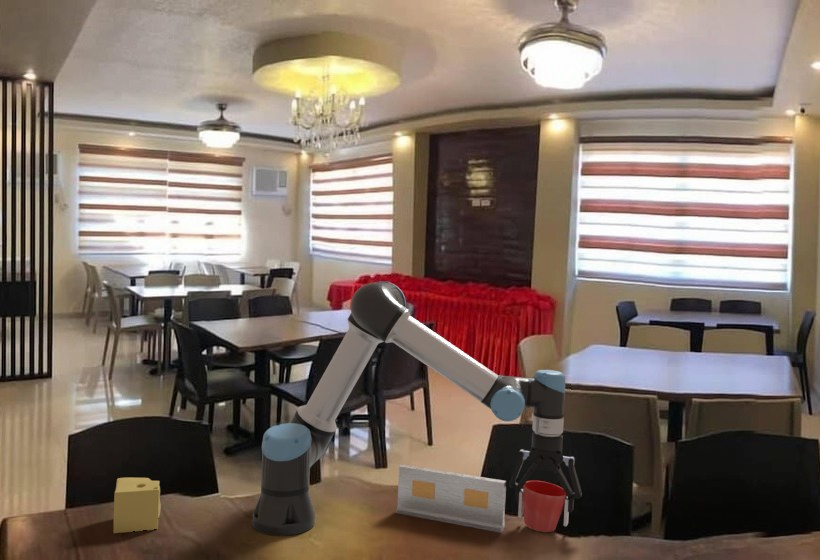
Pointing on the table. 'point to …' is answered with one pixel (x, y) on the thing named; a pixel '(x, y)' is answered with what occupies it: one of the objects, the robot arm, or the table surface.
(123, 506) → the cheese
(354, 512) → the table surface
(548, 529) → the flower pot
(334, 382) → the robot arm
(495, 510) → the label panel
